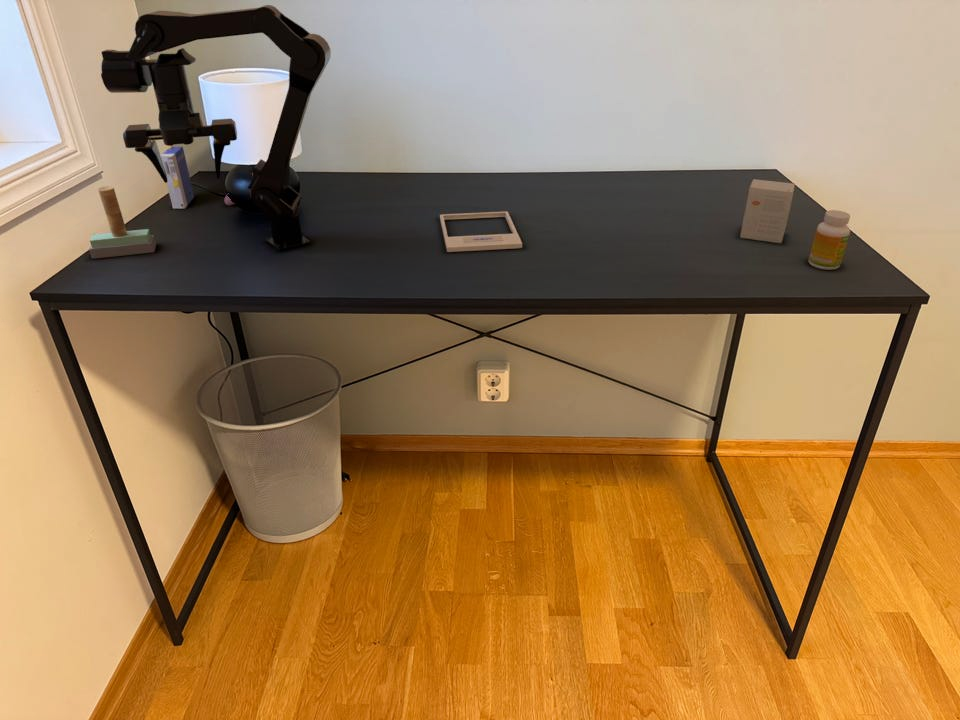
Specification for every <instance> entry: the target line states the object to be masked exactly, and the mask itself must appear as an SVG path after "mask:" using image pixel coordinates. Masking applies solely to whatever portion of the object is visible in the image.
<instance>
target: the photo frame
mask: <svg viewBox="0 0 960 720" xmlns="http://www.w3.org/2000/svg"><path fill="white" fill-rule="evenodd" d="M488 218H490V219H491V218H505V220H506V222H507V224H508V226H509V230H510V231H511V233H497V234H495V233H494V234H479V235H478V234H477V235H476V234H475V235H460V236H459V235H458V236H448V230H447V227H446V223H445V221H446V220H448V221H449V220H467V219H468V220H469V219H470V220H471V219H488ZM439 220H440V226H441V230H442V235H443V241H444V245H445V249H446V253H455V252H457V253H458V252H474V251H492V250H494V251H495V250H508V249H511V250H513V249H523V242H522V240H521V237H520V235H519V233H518V232H517V229H516V226H515V224H514V223H513V220H512V218H511V215H510V214H509V211H507V210H506V211H488V212H466V213H444V214H439Z"/></svg>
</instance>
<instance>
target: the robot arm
mask: <svg viewBox="0 0 960 720" xmlns="http://www.w3.org/2000/svg"><path fill="white" fill-rule="evenodd" d="M134 33H135V37H134V39H133V41H132V44H131V46H130V48H129V50H115V49H105V50H102V51H101V52H100V53H101V56H102V61H101V65H100V67H101V68H100V69H101V73H100V77H101V80H102V83H103V85H104V87H105V89H106V90H107V92H109V93H110V94H111V93H113V94H117V93H119V94H121V93H122V94H124V93H128V94H129V93H132V94H133V93H146V92H147V91H148V89H149V87H151V86H152V87H153V91H154V96H155V100H156V103H157V107H158V125H159V126H158V128H151V126H150V123H141V124H140V123H139V124H129V125H128V126H127V127H125V130H124V131H123V133H122V139H123V142H124V146H125V148H126V149H134V151H135V152H136V153H142V154H143V155H144V156H145V157H146V158H147V159H148V160H149V161H150V162H151V164H152V165H153V167H154V168H155V170H156V171H157V173H158V175H159V176H160V177H161V179H162V181H163V182H164V183H165V184H167V182H168V180H167V175H166V171H165V168H164V165H163V162H162V159H161V153H160V150H159V147H158V143H157V141H158V140H159V141H160V140H162V142H163V145H165V146H168V147H169V146H172V147H174V145H185V146H187V145H191V144H193V143H194V142H195V141H194V138H204V137H213V142H212V147H213V156H214V158H213V159H214V171H215V175H216V178H217V179H220V176H221V166H222V158H223V154H224V150H225V147H227V146H231V142H232V141H233V142H234V141H237V139H238V130H237V124H236V121H235V120H234V119H233V118H219V119H217V118H216V119H212V120H211V124H208V125H204V123H203V119H202V117H201V114H200V112H195V109H194V103H193V99H192V95H191V90H190V86H189V81H188V80H189V79H188V75H187V72H186V67H185V66H190V65H191V64H192V65H193V63H196V61H197V58H196V57H195V56H193V55H191V53H189V52H187V50H186V49H185V48H184V47H181V48H180V49H178V50H177V51H176V52H175V53H172V52H171V53H162V52H164V51H168V50H171V49H174V48H176V47H180V46H182V45H186V44H188V43H191V42H194V41H198V40H207V39H216V38H217V39H218V38H227V37H236V36H237V37H238V36H245V35H253V34H263V35H264V36H266V37H267V38H268V39H269V40H270V41H271V42H272V43H274V45H275V46H276V47H277V48H278V49H279V51H281V52H282V53H284V54H285V55H286V56H288V58H290V60H289V67H288V89H287V93H286V96H285V99H284V102H283V106H282V109H281V113H280V116H279V119H278V122H277V126H276V129H275V132H274V136H273V140H272V143H271V145H270V148H269V149H270V150H269V152H268V156H267V159H266V161H265V160H263V158H260V160H258V162H257V163H256V164H255V166H254V167H253V169H252V173H251V174H252V181H251V183H250V184H249V186H248V187H247V188H248V189H251V191H250V197H249V199H250V200H251V202H252V203H253V205H254V206H255V207H256V208H258V210H260V212H261V213H262V215H263V217H264V219H265V220H266V221H267V222H269V227H270V232H271V237H269V238H266V243H268V244H269V245H270V246H272V247H273V248H274V249H276V250H277V251H278V252H282V251H286V250H290V249H295V248H298V247H302V246H306V245H309V244H310V240H309V239H307V237H305V236H303V232H302V226H301V218H300V212H299V210H298V207H299V206H300V204H301V200H302V196H301V194H300V193H299V192H297V190H295V189H294V188H293V187H291V185H289V184H290V175H291V174H290V173H291V171H290V169H291V168H290V167H291V165H290V164H291V159H292V156H293V153H294V150H295V147H296V144H297V140H298V138H299V134H300V131H301V128H302V124H303V121H304V118H305V115H306V112H307V108H308V106H309V102H310V99H311V96H312V93H313V91H314V90H315V88H316V86H317V84H318V82H319V80H321V79H320V78H321V77H322V75H323V73H324V71H325V69H326V67H327V66H328V64H329V62H330V60H331V57H332V56H331V54H332V52H331V50H332V49H331V47H330V45H329V43H328V41H327V40H326V39H325V38H324V37H322V36H321V35H320V34H317V33H311V32H309V31H308V30H307V29H305V28H304V27H303V26H302V25H299V24H298V23H296V22H295V21H294V20H292V19H291V18H289V17H288V16H286V15H285V14H284V13H282V12H281V11H280V10H279V9H278V8H277V7H276V6H274V5H271V4H265V5H262V6H260V7H251V8H244V9H241V8H240V9H234V10H233V9H232V10H225V11H223V10H222V11H215V12H206V13H205V12H204V13H197V14H196V13H187V12H181V11H171V10H155V11H152V12H149V13H145V14H142V15H140V16H139V17H138V18H137V20H136V22H135V25H134ZM157 53H160V54H159V55H158V56H157V58H156V59H155V58H154V59H152V58H151V59H147V57H150V56H152V55H154V54H157Z"/></svg>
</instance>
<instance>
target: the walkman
mask: <svg viewBox="0 0 960 720" xmlns="http://www.w3.org/2000/svg"><path fill="white" fill-rule="evenodd" d="M160 156H161V159H162V162H163V165H164V168H165V171H166V175H167V180H168V182H167V183H166V187H167V191H168V195H169V199H170V202H171V206H172V209H173V210H174V209H180V210H182V209H184V210H185V209H186V208H187V207H188V205H189V204H191V202H192V201H193V200H194V198H195V193H194V189H193V185H192V180H191V176H190V172H189V168H188V163H187V160H186V155H185V151H184V147H183V146H168V147H167V149H166V150H165V151H164V152H162V154H160Z"/></svg>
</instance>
